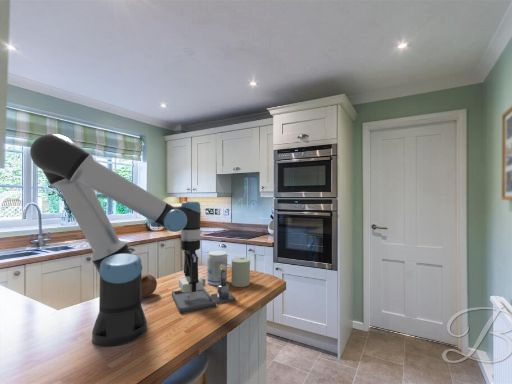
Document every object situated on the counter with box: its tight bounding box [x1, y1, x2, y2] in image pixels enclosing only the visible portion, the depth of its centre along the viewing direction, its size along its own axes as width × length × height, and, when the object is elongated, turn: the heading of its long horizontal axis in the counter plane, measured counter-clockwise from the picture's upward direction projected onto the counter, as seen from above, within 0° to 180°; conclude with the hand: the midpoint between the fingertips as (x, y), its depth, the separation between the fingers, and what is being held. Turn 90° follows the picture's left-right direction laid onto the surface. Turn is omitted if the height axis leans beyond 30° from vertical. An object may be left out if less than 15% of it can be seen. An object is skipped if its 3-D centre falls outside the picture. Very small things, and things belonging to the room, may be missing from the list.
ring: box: [178, 276, 206, 293], centre depth 108 cm, size 8×10×3 cm
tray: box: [171, 286, 217, 314], centre depth 108 cm, size 14×19×2 cm
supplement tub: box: [206, 250, 228, 286], centre depth 130 cm, size 10×10×15 cm
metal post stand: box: [210, 264, 236, 305], centre depth 110 cm, size 8×8×14 cm
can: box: [230, 257, 251, 288], centre depth 129 cm, size 9×9×12 cm
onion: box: [141, 274, 158, 298], centre depth 112 cm, size 10×9×10 cm
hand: (190, 295), depth 107 cm, fingers closed on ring, 8 cm apart
